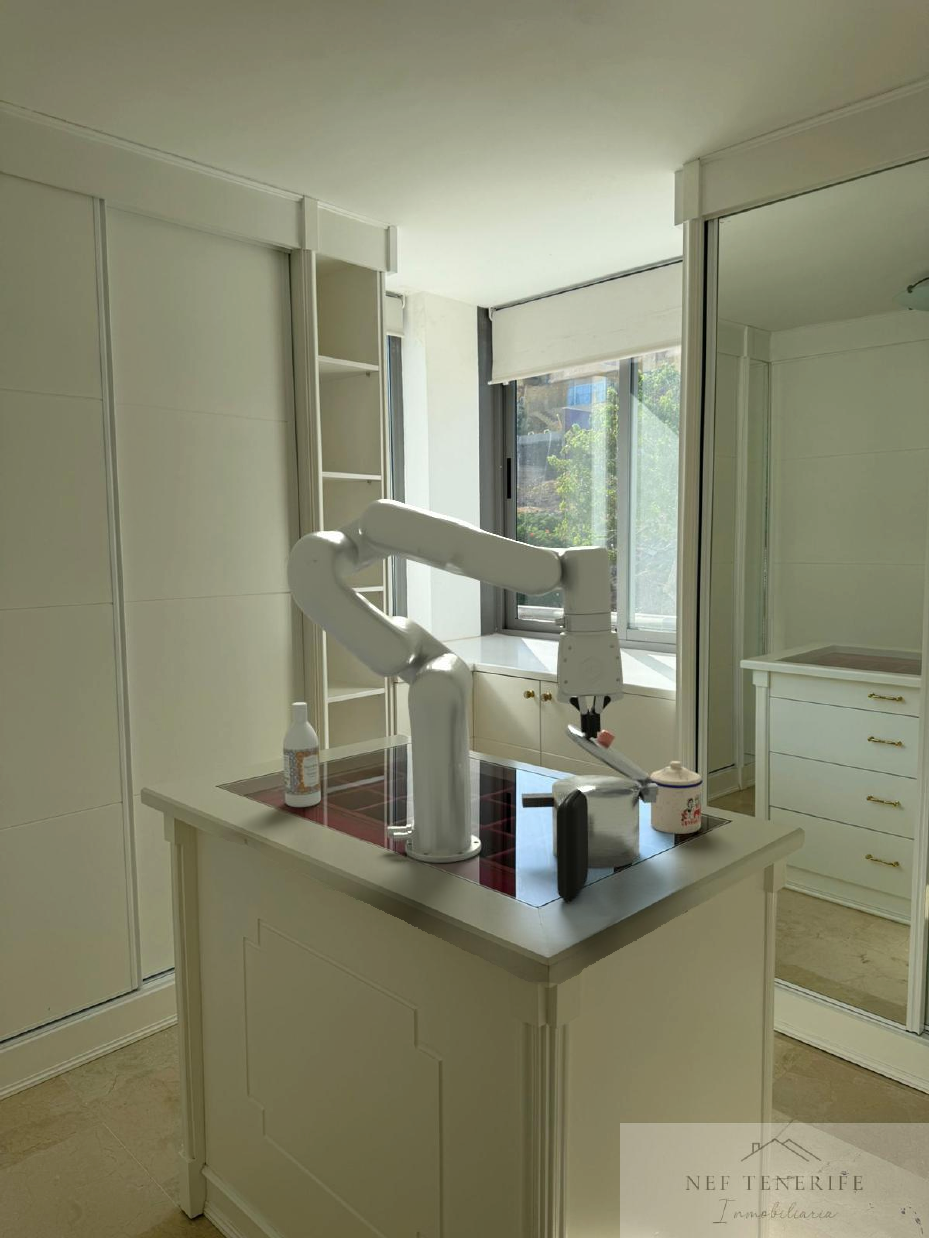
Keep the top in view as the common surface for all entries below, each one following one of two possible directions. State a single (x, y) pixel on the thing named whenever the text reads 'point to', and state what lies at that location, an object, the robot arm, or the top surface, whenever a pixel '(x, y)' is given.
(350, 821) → the top surface
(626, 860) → the cooker pot
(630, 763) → the lid
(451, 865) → the top surface
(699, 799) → the teacup with lid
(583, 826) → the carrying case or bag
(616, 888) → the top surface
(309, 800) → the bath foam
